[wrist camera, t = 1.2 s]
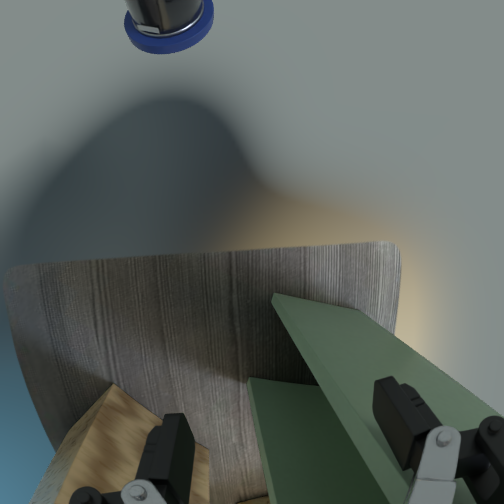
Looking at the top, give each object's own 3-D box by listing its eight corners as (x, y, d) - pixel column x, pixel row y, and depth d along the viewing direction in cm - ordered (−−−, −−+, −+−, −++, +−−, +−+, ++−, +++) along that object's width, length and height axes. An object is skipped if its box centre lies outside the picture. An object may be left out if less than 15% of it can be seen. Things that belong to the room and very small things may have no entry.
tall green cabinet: (242, 383, 34) (298, 653, 3) (269, 291, 33) (464, 589, 2) (331, 394, 36) (458, 593, 5) (363, 311, 35) (583, 475, 3)
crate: (69, 430, 33) (15, 532, 12) (113, 382, 33) (49, 512, 12) (153, 486, 36) (138, 592, 15) (209, 449, 35) (213, 580, 14)
